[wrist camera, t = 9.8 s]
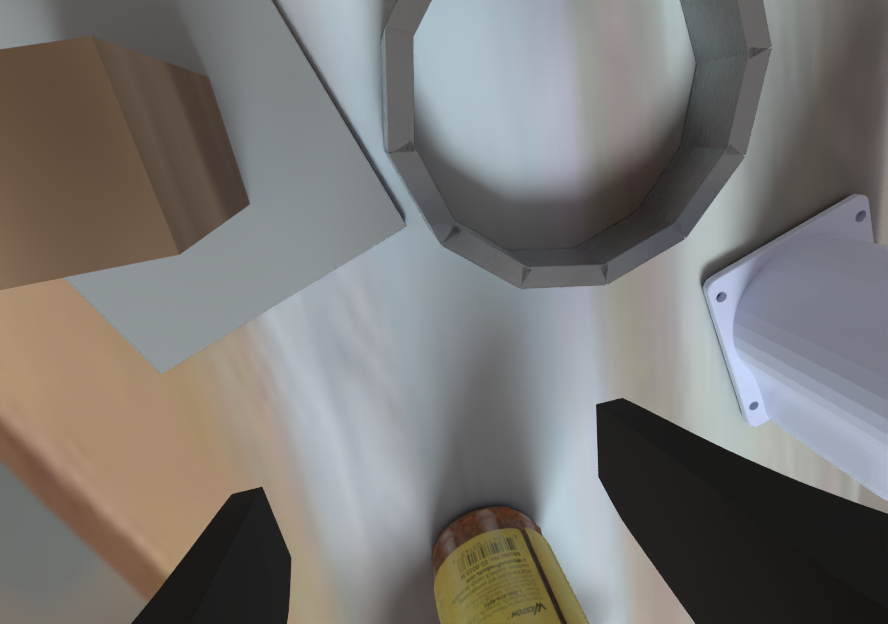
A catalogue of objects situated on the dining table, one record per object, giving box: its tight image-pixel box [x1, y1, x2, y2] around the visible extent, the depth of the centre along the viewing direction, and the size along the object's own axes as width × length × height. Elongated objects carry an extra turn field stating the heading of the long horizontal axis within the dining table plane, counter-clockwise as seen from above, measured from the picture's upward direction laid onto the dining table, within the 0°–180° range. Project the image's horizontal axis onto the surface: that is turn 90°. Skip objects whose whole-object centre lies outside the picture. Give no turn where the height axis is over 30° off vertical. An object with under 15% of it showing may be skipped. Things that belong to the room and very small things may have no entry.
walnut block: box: [0, 36, 250, 290], centre depth 12 cm, size 4×4×7 cm
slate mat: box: [0, 0, 406, 374], centre depth 15 cm, size 12×11×1 cm
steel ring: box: [381, 0, 771, 289], centre depth 16 cm, size 13×13×2 cm
